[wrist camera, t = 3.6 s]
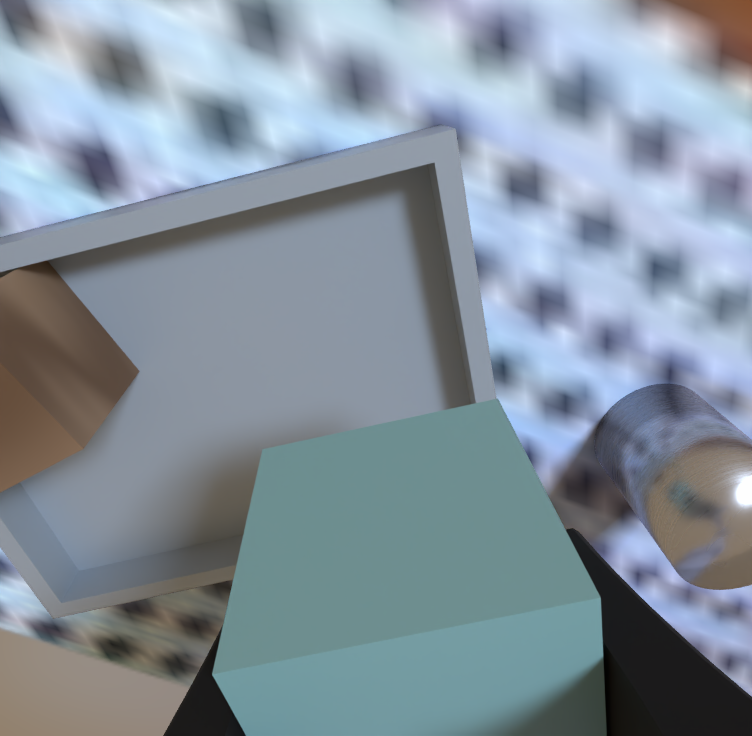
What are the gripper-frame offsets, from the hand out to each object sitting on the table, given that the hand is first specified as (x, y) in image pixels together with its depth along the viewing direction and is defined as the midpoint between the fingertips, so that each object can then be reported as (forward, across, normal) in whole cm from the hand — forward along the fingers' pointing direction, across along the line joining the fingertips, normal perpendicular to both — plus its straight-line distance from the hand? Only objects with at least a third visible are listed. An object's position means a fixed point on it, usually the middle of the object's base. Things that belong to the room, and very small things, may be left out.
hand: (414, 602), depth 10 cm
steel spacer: (+9, -9, +5) cm, 13 cm away
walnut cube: (+8, +9, -3) cm, 13 cm away
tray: (+9, +5, -1) cm, 10 cm away
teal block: (+2, 0, 0) cm, 2 cm away
